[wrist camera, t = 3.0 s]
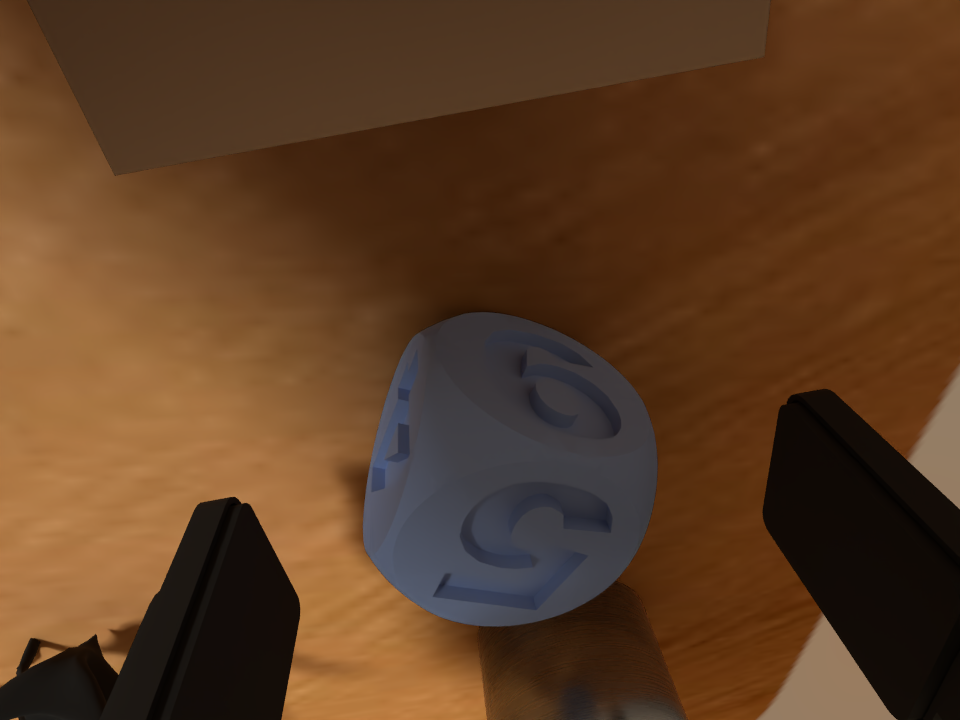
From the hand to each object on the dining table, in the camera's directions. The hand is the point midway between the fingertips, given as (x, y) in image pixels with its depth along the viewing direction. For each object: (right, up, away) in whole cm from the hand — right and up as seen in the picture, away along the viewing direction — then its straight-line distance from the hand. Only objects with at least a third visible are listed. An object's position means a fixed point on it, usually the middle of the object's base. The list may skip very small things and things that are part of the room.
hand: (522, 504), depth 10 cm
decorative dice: (-1, +2, +2) cm, 3 cm away
